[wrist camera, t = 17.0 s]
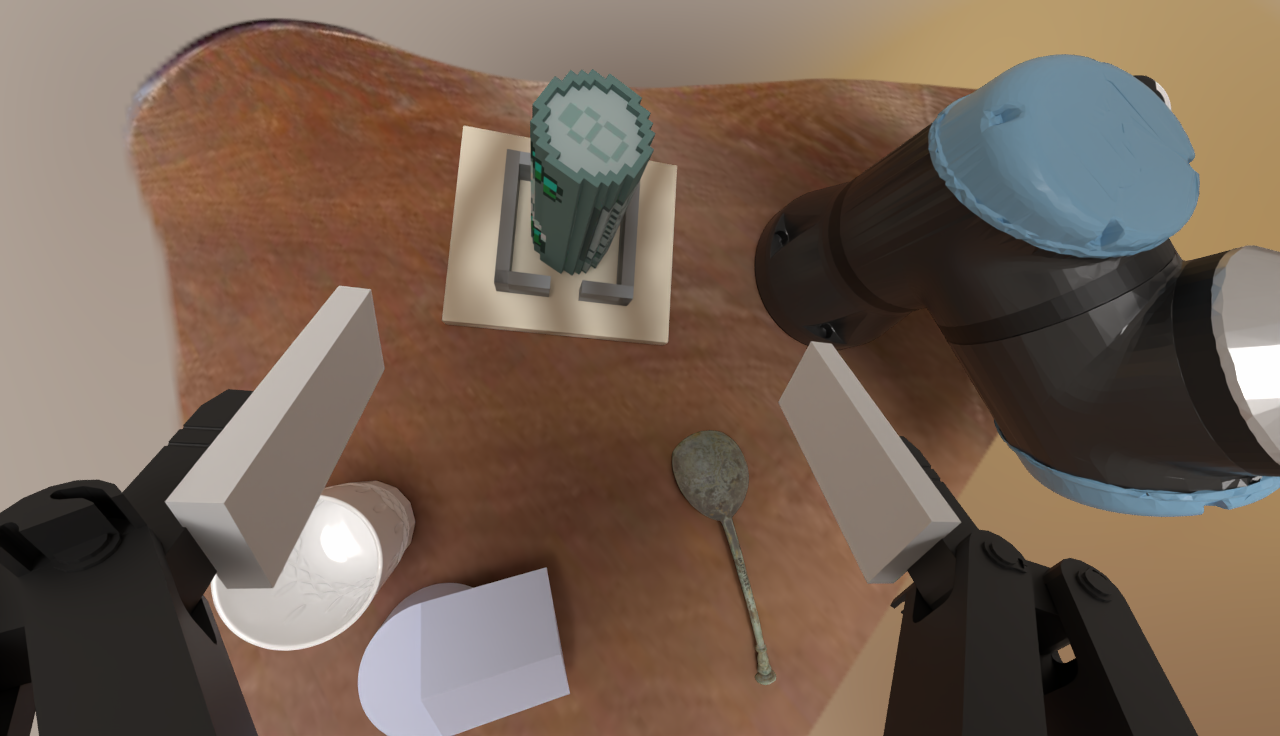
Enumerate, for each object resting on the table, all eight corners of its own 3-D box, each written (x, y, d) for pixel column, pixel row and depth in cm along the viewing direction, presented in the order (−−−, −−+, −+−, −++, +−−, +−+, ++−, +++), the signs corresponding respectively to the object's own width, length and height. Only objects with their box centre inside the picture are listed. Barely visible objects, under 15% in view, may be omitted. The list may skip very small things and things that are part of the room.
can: (559, 188, 38) (576, 48, 24) (620, 231, 39) (673, 121, 24) (518, 245, 37) (509, 134, 22) (581, 288, 38) (613, 208, 23)
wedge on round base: (545, 553, 36) (365, 603, 33) (548, 583, 30) (325, 649, 27) (566, 668, 36) (386, 730, 33) (574, 724, 29) (350, 807, 26)
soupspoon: (726, 419, 42) (659, 438, 41) (740, 418, 39) (668, 439, 38) (793, 660, 41) (726, 688, 39) (814, 681, 37) (742, 712, 36)
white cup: (293, 492, 33) (193, 523, 23) (409, 458, 35) (361, 474, 25) (320, 599, 33) (230, 676, 23) (435, 559, 35) (398, 615, 25)
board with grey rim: (671, 174, 42) (686, 149, 38) (663, 345, 40) (676, 337, 36) (466, 136, 38) (458, 105, 34) (445, 324, 36) (435, 313, 32)
